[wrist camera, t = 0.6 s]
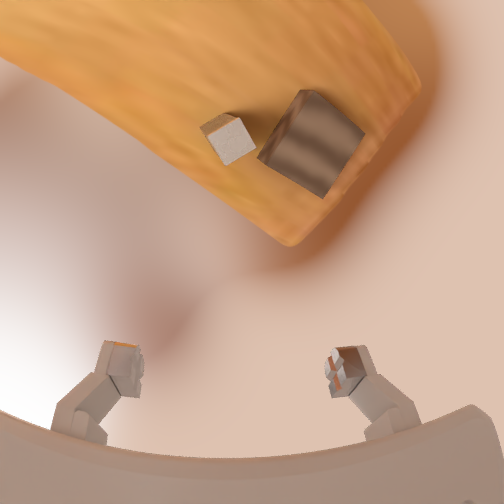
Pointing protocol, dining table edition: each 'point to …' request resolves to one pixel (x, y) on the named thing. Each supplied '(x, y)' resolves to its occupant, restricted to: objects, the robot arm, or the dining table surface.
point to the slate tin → (228, 137)
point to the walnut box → (311, 143)
